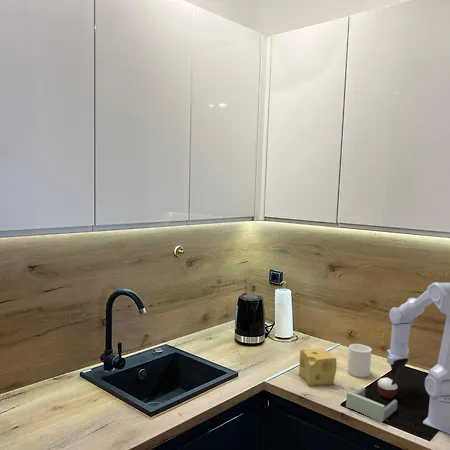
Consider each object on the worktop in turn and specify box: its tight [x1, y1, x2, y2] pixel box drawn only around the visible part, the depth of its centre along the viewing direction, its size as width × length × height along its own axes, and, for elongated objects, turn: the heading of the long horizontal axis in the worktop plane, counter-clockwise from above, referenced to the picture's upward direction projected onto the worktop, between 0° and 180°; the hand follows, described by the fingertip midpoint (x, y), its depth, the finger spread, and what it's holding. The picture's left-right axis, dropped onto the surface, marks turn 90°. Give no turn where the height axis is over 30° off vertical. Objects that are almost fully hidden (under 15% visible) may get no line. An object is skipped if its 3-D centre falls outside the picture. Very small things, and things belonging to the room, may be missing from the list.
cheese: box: [298, 348, 337, 387], centre depth 160 cm, size 10×11×10 cm
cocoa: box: [376, 368, 402, 399], centre depth 148 cm, size 10×6×12 cm, turn 5°
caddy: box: [345, 387, 398, 423], centre depth 140 cm, size 12×11×5 cm
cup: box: [347, 343, 372, 379], centre depth 168 cm, size 8×12×10 cm
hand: (396, 377), depth 153 cm, fingers closed
